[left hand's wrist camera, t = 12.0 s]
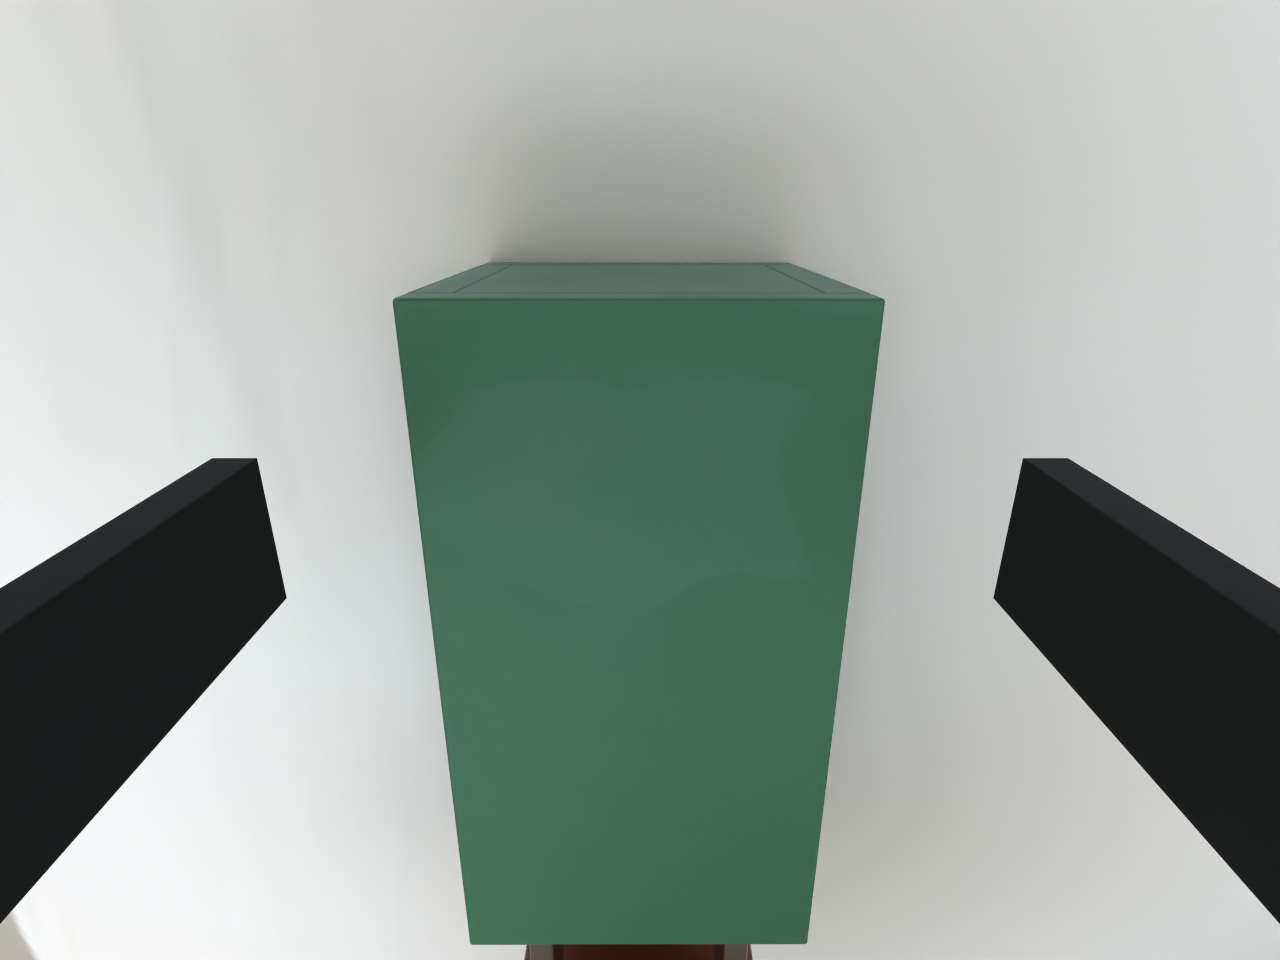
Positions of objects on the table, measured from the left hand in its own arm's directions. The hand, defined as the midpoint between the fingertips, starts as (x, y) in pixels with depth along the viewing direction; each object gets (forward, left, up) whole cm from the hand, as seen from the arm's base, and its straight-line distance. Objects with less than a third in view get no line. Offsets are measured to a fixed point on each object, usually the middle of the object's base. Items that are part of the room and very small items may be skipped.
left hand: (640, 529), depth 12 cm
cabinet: (+5, -3, -14) cm, 15 cm away
